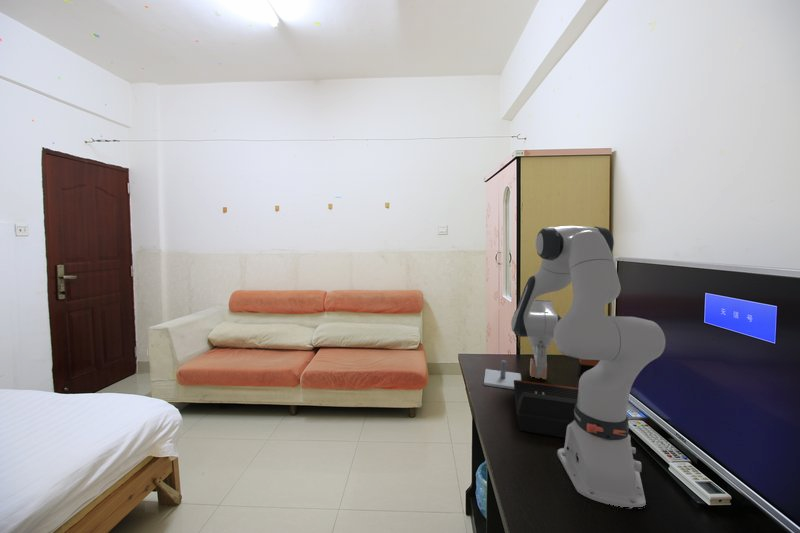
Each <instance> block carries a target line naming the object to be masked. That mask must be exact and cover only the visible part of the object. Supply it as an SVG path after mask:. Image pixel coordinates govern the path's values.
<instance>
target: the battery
mask: <svg viewBox="0 0 800 533" xmlns="http://www.w3.org/2000/svg"><path fill="white" fill-rule="evenodd" d="M599 361H600V360H586V359H579V358H578V369H577V370H578V371H577V375H579V377H581V376H582V374H583V373H584V372H586V371H588V370H590V369H592V368H593V367H595V366H596V365H597V364H598V363H599Z"/></svg>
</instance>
